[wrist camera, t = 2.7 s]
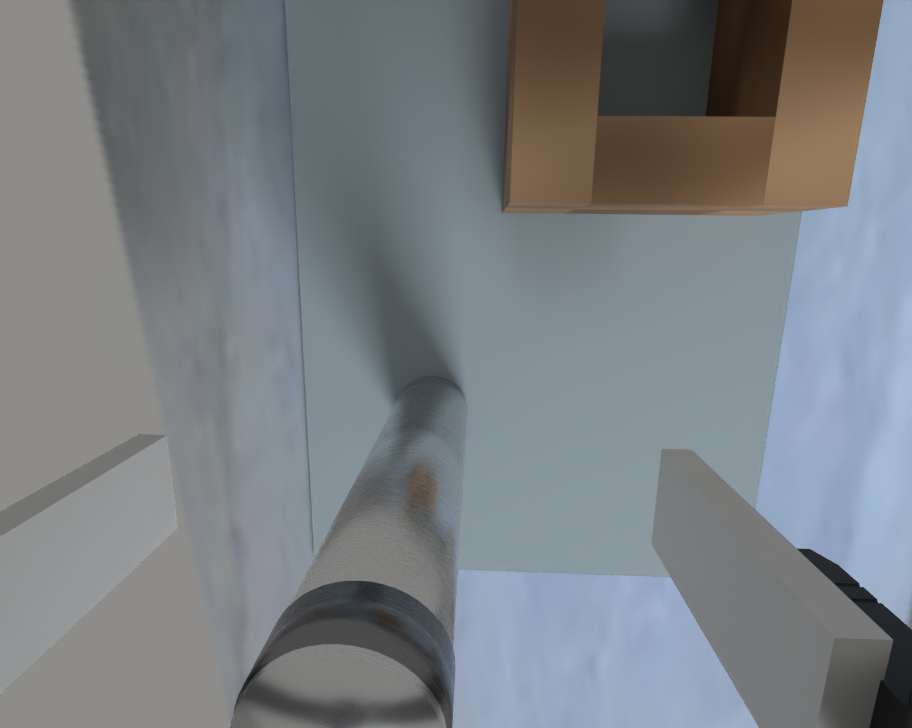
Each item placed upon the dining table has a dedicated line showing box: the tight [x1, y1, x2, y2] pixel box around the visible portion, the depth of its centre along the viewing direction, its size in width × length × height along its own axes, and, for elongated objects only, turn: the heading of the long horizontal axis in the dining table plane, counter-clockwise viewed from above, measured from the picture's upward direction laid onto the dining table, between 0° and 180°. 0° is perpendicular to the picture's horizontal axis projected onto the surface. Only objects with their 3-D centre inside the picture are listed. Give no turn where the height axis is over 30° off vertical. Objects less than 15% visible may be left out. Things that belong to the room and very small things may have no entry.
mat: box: [285, 0, 802, 577], centre depth 19 cm, size 26×18×1 cm
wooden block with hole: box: [502, 0, 883, 216], centre depth 15 cm, size 9×9×4 cm
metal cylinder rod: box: [231, 376, 468, 728], centre depth 13 cm, size 3×3×14 cm
